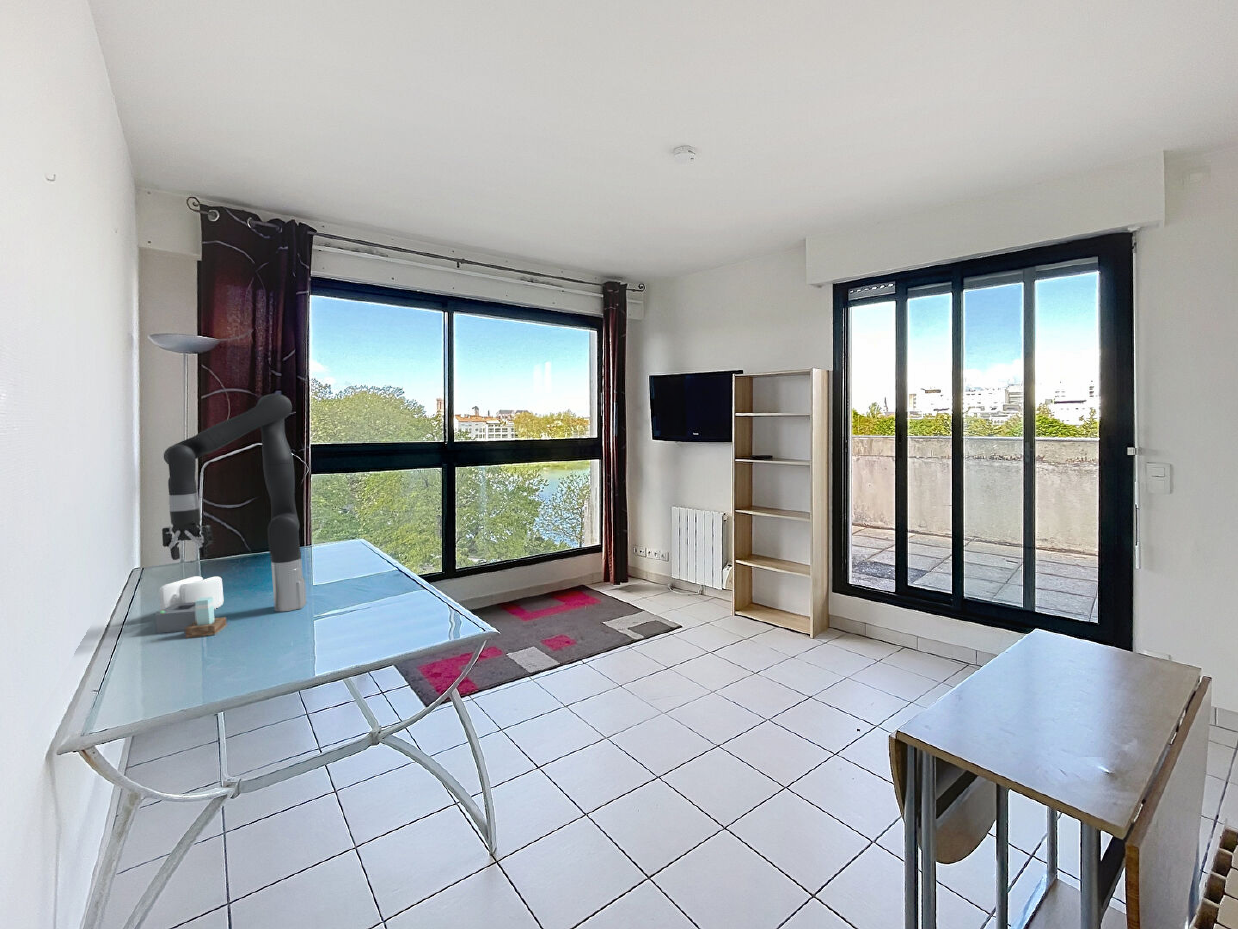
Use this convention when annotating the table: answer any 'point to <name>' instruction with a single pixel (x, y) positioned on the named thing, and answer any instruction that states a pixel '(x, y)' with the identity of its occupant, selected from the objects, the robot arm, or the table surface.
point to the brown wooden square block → (205, 628)
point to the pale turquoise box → (205, 611)
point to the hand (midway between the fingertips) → (189, 558)
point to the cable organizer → (191, 591)
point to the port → (176, 617)
